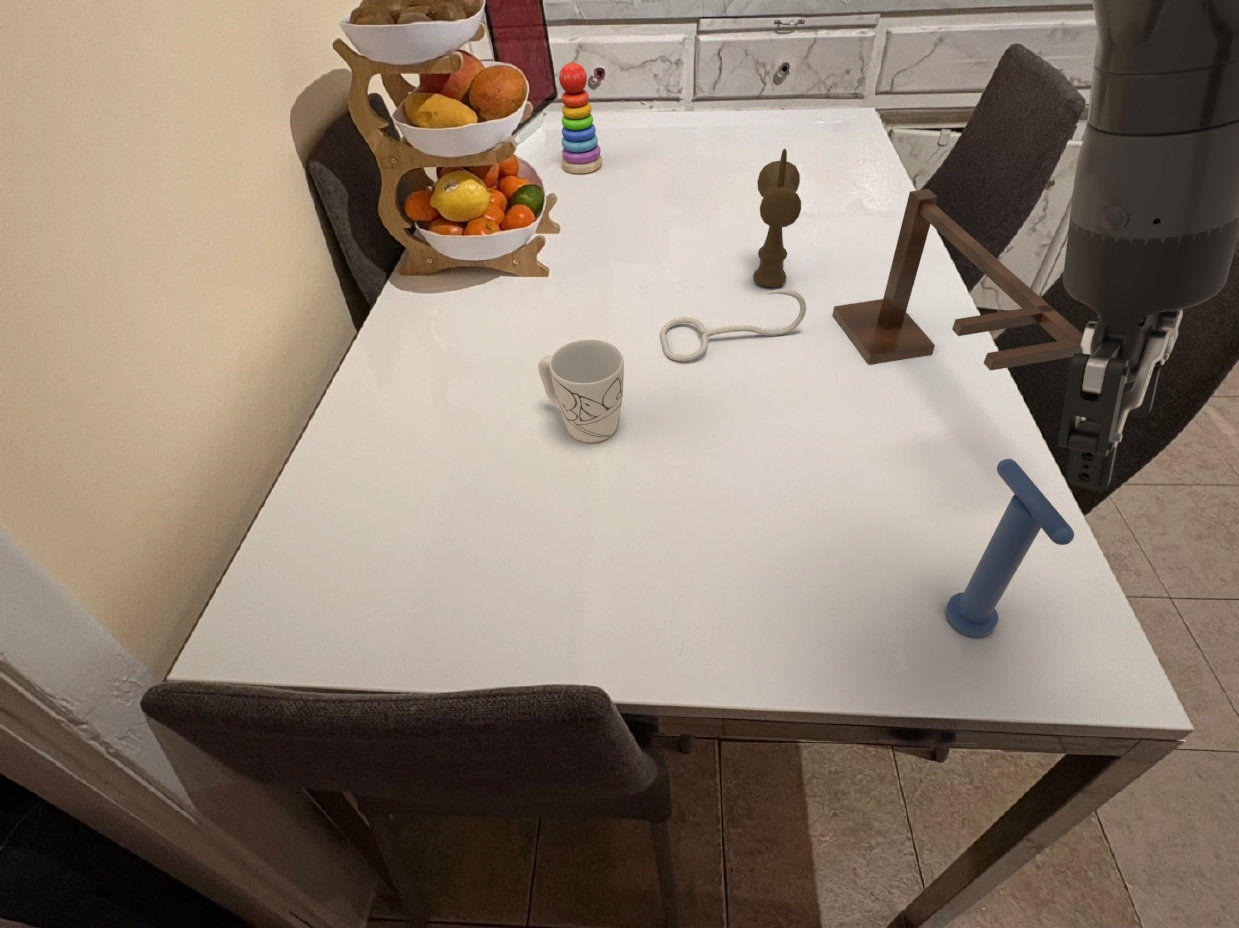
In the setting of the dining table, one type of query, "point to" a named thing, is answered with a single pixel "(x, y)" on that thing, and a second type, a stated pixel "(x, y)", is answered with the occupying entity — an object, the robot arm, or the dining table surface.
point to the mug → (586, 387)
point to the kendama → (776, 217)
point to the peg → (1005, 552)
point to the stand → (896, 336)
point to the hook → (729, 328)
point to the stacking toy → (577, 123)
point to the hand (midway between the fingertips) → (1109, 447)
